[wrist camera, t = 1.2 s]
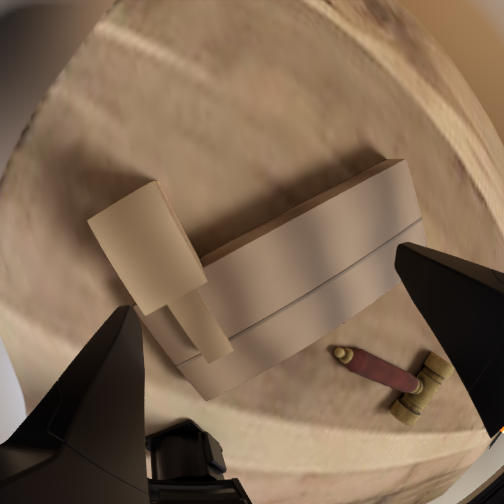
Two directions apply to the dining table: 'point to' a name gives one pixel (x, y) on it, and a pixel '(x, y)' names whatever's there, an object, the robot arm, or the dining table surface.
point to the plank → (297, 276)
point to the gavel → (400, 379)
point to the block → (159, 264)
